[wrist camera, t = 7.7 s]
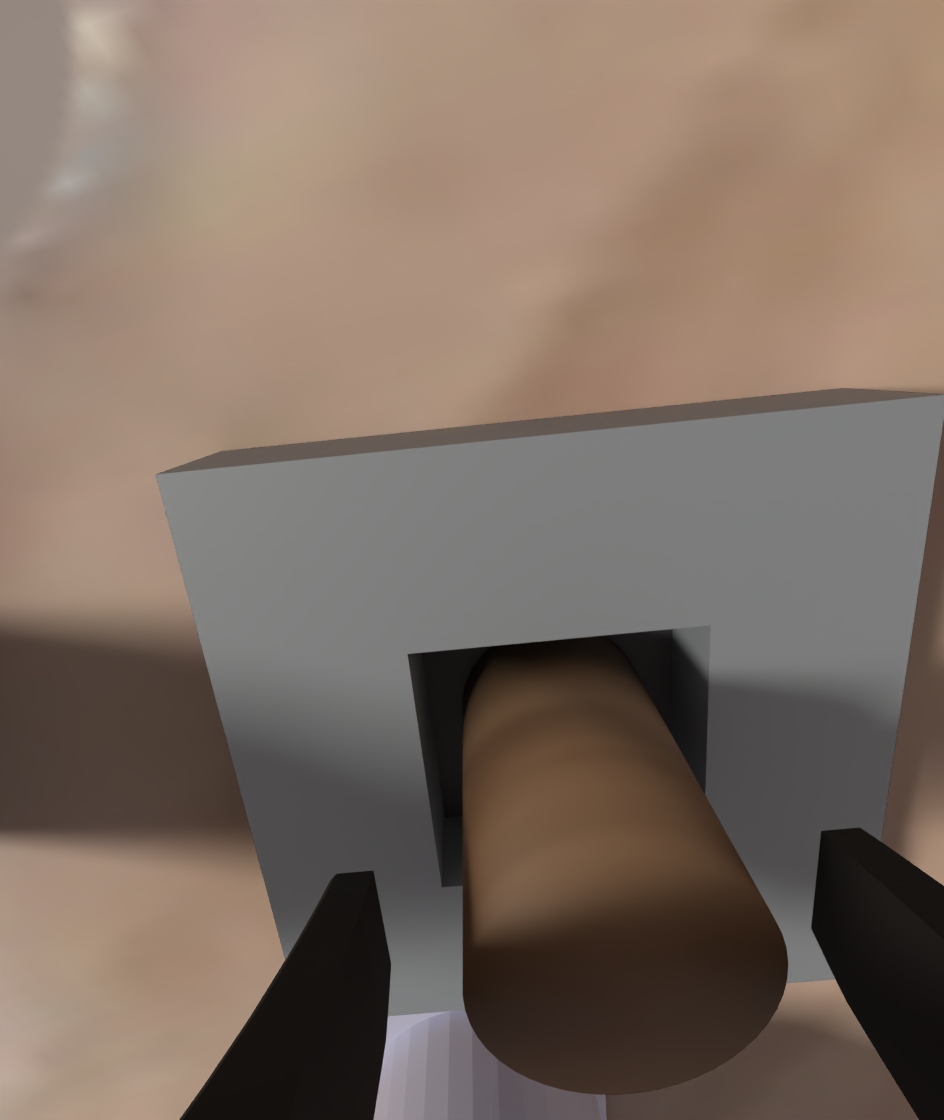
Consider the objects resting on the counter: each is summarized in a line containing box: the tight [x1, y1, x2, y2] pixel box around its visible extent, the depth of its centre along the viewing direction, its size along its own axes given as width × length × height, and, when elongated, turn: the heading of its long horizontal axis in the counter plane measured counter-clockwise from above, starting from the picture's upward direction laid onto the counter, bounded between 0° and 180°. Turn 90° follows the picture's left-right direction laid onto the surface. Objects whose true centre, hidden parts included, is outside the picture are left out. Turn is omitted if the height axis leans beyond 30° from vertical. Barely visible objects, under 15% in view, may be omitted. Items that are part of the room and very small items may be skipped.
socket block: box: [156, 388, 944, 1016], centre depth 14 cm, size 14×14×3 cm
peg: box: [463, 635, 788, 1095], centre depth 11 cm, size 4×4×7 cm
